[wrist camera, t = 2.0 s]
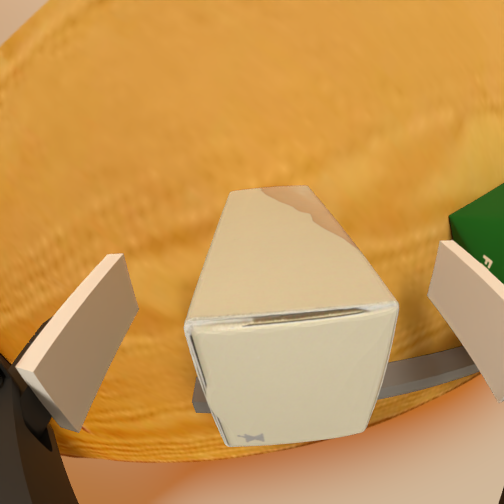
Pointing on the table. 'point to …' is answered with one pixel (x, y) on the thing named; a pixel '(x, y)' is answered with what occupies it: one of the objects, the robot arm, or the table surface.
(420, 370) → the rail
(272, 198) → the box
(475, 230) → the fresh milk carton
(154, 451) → the table surface
